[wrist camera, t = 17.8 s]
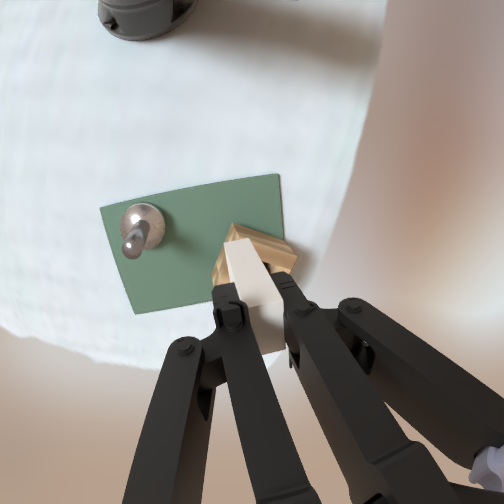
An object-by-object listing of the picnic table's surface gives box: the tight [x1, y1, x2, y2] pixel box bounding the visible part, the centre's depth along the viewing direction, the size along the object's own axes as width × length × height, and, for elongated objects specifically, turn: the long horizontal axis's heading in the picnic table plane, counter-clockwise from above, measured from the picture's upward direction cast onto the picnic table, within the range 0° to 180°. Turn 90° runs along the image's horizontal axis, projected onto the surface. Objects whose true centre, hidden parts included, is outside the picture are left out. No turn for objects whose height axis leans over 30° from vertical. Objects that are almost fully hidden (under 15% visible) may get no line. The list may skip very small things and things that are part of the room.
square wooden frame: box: [211, 223, 298, 287], centre depth 41 cm, size 9×9×6 cm
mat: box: [100, 174, 283, 314], centre depth 44 cm, size 20×28×1 cm
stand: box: [119, 201, 166, 260], centre depth 35 cm, size 7×7×10 cm
